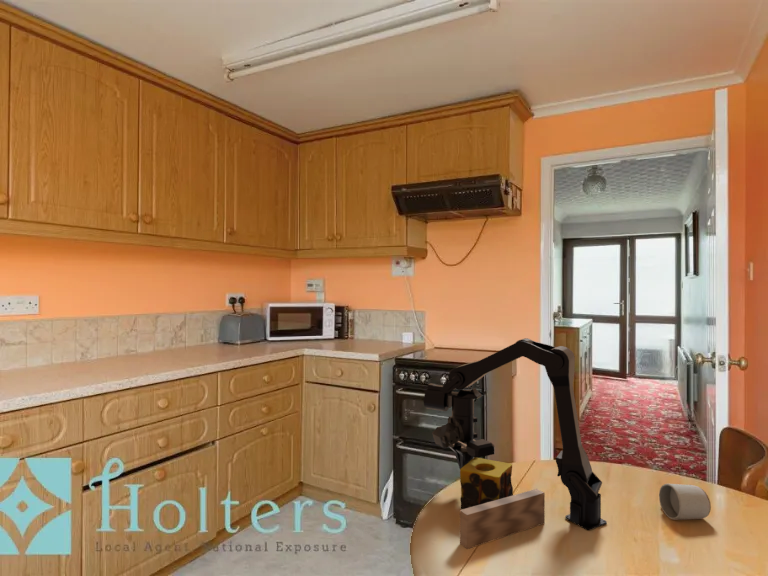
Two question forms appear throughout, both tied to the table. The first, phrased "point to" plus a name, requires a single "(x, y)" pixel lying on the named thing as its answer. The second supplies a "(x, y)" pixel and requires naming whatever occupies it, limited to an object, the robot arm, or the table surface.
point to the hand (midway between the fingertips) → (463, 472)
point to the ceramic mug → (684, 501)
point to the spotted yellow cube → (484, 482)
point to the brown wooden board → (501, 518)
